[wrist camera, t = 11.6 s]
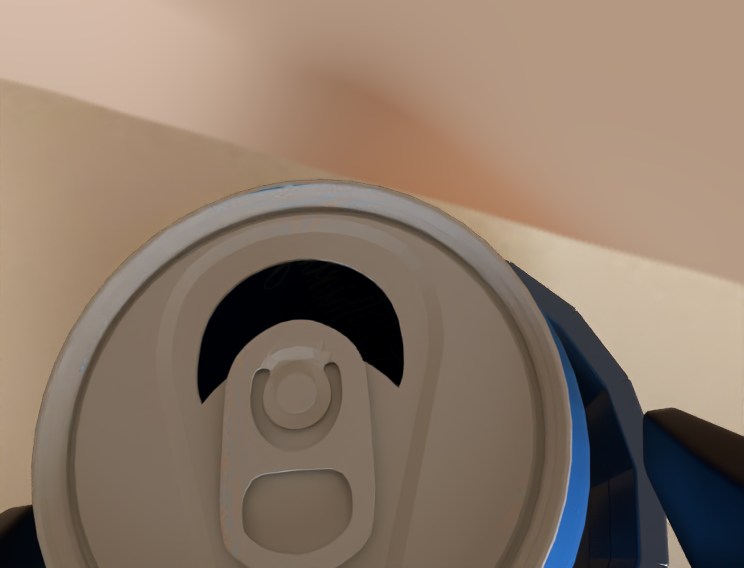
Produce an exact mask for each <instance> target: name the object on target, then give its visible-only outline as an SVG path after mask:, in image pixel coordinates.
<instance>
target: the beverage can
mask: <svg viewBox="0 0 744 568" xmlns="http://www.w3.org/2000/svg"><path fill="white" fill-rule="evenodd" d="M31 468H32V504H33V511H34V518H35V525H36V532H37V538H38V541H39V545H40V548H41V552H42V555H43V559H44V562H45V566H46V568H572V567H573V565H574V562H575V559H576V555H577V551H578V548H579V544H580V540H581V537H582V533H583V529H584V526H585V519H586V512H587V504H588V496H589V489H590V446H589V438H588V431H587V423H586V416H585V409H584V406H583V402H582V398H581V395H580V391H579V387H578V384H577V380H576V376H575V373H574V371H573V369H572V366H571V364H570V361H569V359H568V357H567V354H566V352H565V350H564V347H563V345H562V343H561V341H560V339H559V337H558V336H557V334H556V332H555V330H554V329H553V327H552V325H551V324H550V322H549V320H548V318H547V317H546V315H545V313H544V312H543V311H542V310H541V308H540V307H539V306H538V304H537V303H536V302H535V300H534V299H533V297H532V295H531V294H530V292H529V290H528V289H527V288H526V286H525V285H524V284H523V282H522V281H521V280H520V278H519V277H518V276H517V274H516V273H515V272H514V270H513V269H512V268H511V267H510V265H509V264H508V263H507V262H506V261H505V260H504V259H503V258H502V257H501V256H500V255H499V254H498V253H497V252H496V251H495V250H494V249H493V248H492V247H491V246H490V245H489V244H488V243H487V242H486V241H485V240H484V239H482V238H481V237H480V236H479V235H477V234H476V233H475V232H473V231H472V230H471V229H470V228H468V227H467V226H466V225H465V224H463V223H462V222H460V221H459V220H457V219H455V218H454V217H452V216H450V215H449V214H447V213H445V212H444V211H442V210H440V209H439V208H437V207H435V206H433V205H430V204H428V203H426V202H424V201H421V200H419V199H417V198H415V197H412V196H410V195H407V194H404V193H401V192H398V191H394V190H391V189H388V188H384V187H381V186H376V185H371V184H365V183H359V182H354V181H343V180H327V179H316V180H297V181H287V182H281V183H275V184H269V185H263V186H259V187H256V188H252V189H249V190H245V191H242V192H238V193H234V194H232V195H229V196H227V197H224V198H222V199H219V200H217V201H214V202H212V203H209V204H207V205H205V206H203V207H201V208H199V209H197V210H195V211H193V212H191V213H189V214H188V215H186V216H184V217H182V218H180V219H178V220H177V221H175V222H174V223H172V224H171V225H169V226H168V227H166V228H165V229H163V230H162V231H160V232H159V233H157V234H156V235H154V236H153V237H152V238H151V239H149V240H148V241H147V242H146V243H145V244H143V245H142V246H141V247H140V248H139V249H137V250H136V251H135V252H134V253H133V254H131V255H130V256H129V257H128V258H127V259H126V260H125V261H124V262H123V263H122V264H121V265H120V266H119V267H118V268H117V269H116V270H115V271H114V272H113V273H112V275H111V276H110V277H109V278H108V279H107V280H106V281H105V282H104V284H103V285H102V286H101V287H100V289H99V290H98V291H97V292H96V294H95V295H94V296H93V298H92V299H91V300H90V301H89V303H88V304H87V305H86V307H85V308H84V310H83V312H82V313H81V315H80V316H79V318H78V320H77V321H76V323H75V324H74V326H73V328H72V329H71V331H70V332H69V334H68V336H67V338H66V341H65V343H64V345H63V347H62V349H61V351H60V353H59V355H58V357H57V359H56V361H55V363H54V366H53V369H52V372H51V375H50V377H49V380H48V383H47V386H46V389H45V392H44V394H43V398H42V402H41V407H40V411H39V415H38V420H37V424H36V429H35V437H34V446H33V455H32V465H31Z"/></svg>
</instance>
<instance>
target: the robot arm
mask: <svg viewBox="0 0 744 568" xmlns="http://www.w3.org/2000/svg"><path fill="white" fill-rule="evenodd" d="M643 462H644V467H645V471H646V474H647V476H648V478H649V481H650V483H651V485H652V487H653V489H654V491H655V493H656V495H657V497H658V499H659V501H660V504H661V506H662V508H663V510H664V512H665V514H666V516H667V518H668V520H669V522H670V524H671V527H672V529H673V531H674V533H675V535H676V537H677V539H678V541H679V543H680V545H681V547H682V550H683V552H684V554H685V556H686V558H687V560H688V562H689V564H690V566H691V568H744V436H741V435H739V434H737V433H734V432H732V431H729V430H727V429H725V428H722V427H720V426H717V425H715V424H712V423H710V422H708V421H705V420H703V419H700V418H698V417H696V416H693V415H691V414H688V413H686V412H684V411H681V410H679V409H676V408H665V409H659V410H652V411H648V412H646V413H645V414H644V417H643ZM0 568H46V566H45V562H44V559H43V555H42V552H41V548H40V545H39V541H38V538H37V532H36V525H35V518H34V511H33V505H27V506H20V507H13V508H10V509H8V510H6V511H4V512H3V513H1V514H0Z"/></svg>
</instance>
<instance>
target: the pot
mask: <svg viewBox="0 0 744 568" xmlns="http://www.w3.org/2000/svg"><path fill="white" fill-rule="evenodd" d="M505 261H506V262H507V263H508V264H509V265H510V267H511V268H512V269H513V270H514V272H515V273H516V274H517V276H518V277H519V278H520V280H521V281H522V282H523V284H524V285H525V286H526V288H527V289H528V290H529V292H530V294H531V295H532V297H533V299H534V300H535V302H536V303H537V304H538V306H539V307H540V308H541V310H542V311H543V312H544V313H545V315H546V317H547V318H548V320H549V322H550V324H551V325H552V327H553V329H554V330H555V332H556V334H557V336H558V337H559V339H560V341H561V343H562V345H563V347H564V350H565V352H566V354H567V357H568V359H569V361H570V364H571V366H572V369H573V371H574V373H575V376H576V380H577V384H578V387H579V391H580V395H581V398H582V402H583V406H584V409H585V416H586V423H587V431H588V438H589V446H590V489H589V496H588V504H587V512H586V519H585V526H584V529H583V533H582V537H581V540H580V544H579V548H578V551H577V555H576V559H575V562H574V565H573V567H572V568H667V566H668V565H669V552H668V536H667V520H666V514H665V512H664V510H663V508H662V506H661V504H660V501H659V499H658V497H657V495H656V493H655V491H654V489H653V487H652V485H651V483H650V481H649V478H648V476H647V474H646V471H645V467H644V462H643V417H644V414H643V412H642V409H641V407H640V404H639V401H638V399H637V396H636V393H635V391H634V388H633V386H632V383H631V381H630V380H629V379H628V376H627V375H626V373H625V372H624V371H623V370H622V368H621V367H620V366H619V364H618V363H617V362H616V360H615V359H614V358H613V357H612V355H611V354H610V353H609V351H608V350H607V349H606V347H605V346H604V345H603V344H602V342H601V341H600V340H599V338H598V337H597V336H596V335H595V333H594V332H593V331H592V329H591V328H590V327H589V325H588V324H587V323H586V322H585V320H584V319H583V318H582V316H581V315H580V314H579V313H578V312H577V311H575V310H576V309H575V308H574V307H573V306H571V305H570V304H568V303H567V302H566V301H564V300H563V299H562V298H560V297H559V296H557V295H556V294H555V293H553V292H552V291H550V290H549V289H548V288H546V287H545V286H544V285H542V284H541V283H539V282H538V281H537V280H535V279H534V278H532V277H531V276H530V275H528V274H527V273H525V272H524V271H523V270H521V269H520V268H519V267H517V266H516V265H514V264H513V263H511V262H510V263H509V261H507V260H505Z"/></svg>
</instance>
